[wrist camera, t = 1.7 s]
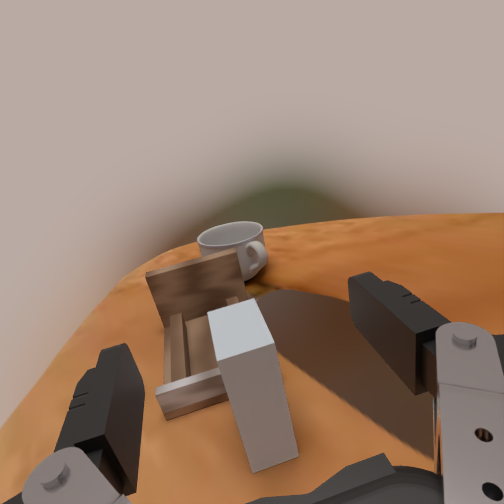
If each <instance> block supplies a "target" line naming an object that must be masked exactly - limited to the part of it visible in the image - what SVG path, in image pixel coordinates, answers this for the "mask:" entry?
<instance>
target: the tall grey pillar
mask: <svg viewBox="0 0 504 504" xmlns="http://www.w3.org/2000/svg"><path fill="white" fill-rule="evenodd" d="M207 314H208V319H209V324H210V329H211V334H212V339H213V344H214V349H215V354H216V359H217V363H218V366H219V370H220V373H221V376H222V379H223V382H224V385H225V388H226V392H227V395H228V398H229V401H230V404H231V407H232V411H233V414H234V417H235V420H236V423H237V426H238V430H239V433H240V436H241V439H242V442H243V445H244V448H245V452H246V455H247V458H248V461H249V464H250V467H251V471H252V474H253V473H256V472H258V471H261V470H264V469H266V468H269V467H272V466H275V465H277V464H280V463H283V462H285V461H288V460H291V459H294V458H296V457H299V453H298V449H297V444H296V439H295V435H294V430H293V426H292V421H291V416H290V412H289V407H288V402H287V398H286V393H285V388H284V384H283V379H282V375H281V370H280V365H279V361H278V356H277V351H276V347H275V342H274V340H273V338H272V336H271V334H270V332H269V330H268V327H267V325H266V323H265V321H264V319H263V317H262V314H261V312H260V310H259V308H258V306H257V303H256V301H255V299H254V298H253V299H250V300H246V301H243V302H240V303H236V304H233V305H230V306H226V307H223V308H220V309H216V310H213V311H210V312H207Z"/></svg>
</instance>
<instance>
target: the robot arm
mask: <svg viewBox="0 0 504 504" xmlns="http://www.w3.org/2000/svg"><path fill="white" fill-rule="evenodd" d="M348 289H349V300H350V311H351V317H352V320H353V322H354V324H355V326H356V328H357V329H358V330H359V332H360V333H361V334H362V335H363V336H364V337H365V339H366V340H367V341H368V342H369V343H370V344H371V346H373V348H374V349H375V350H376V351H377V352H378V353H379V355H380V356H381V357H382V358H383V359H384V360H385V362H386V363H387V364H388V365H389V366H390V367H391V369H392V370H393V371H394V372H395V373H396V374H397V375H398V377H399V378H400V379H401V380H402V381H403V382H404V383H405V384H406V386H407V387H408V388H409V389H410V390H411V391H412V393H413V394H414V395H419V394H421V393H424V392H427V391H429V392H430V393H431V394H432V395H433V421H434V472H431V471H428V470H424V469H420V468H415V467H409V466H392V465H391V463H390V462H389V460H388V459H387V457H386V455H385V454H384V453H381V454H379V455H376V456H373V457H371V458H368V459H365V460H362V461H360V462H357V463H354V464H352V465H349V466H346V467H344V468H343V469H342V470H340V471H339V472H338V473H336V474H335V475H334V476H332V477H331V478H330V479H328V480H327V481H326V482H324V483H323V484H322V485H320V486H319V487H318V488H316V489H315V490H314V491H312V492H310V493H308V494H303V495H290V496H277V497H264V498H260V499H257V500H254V501H252V502H249V503H246V504H504V334H503V335H491V334H490V333H489V332H488V331H486V330H485V329H483V328H481V327H479V326H476V325H473V324H469V323H463V322H450V321H449V320H448V319H446V318H445V317H444V316H442V315H441V314H440V313H438V312H437V311H436V310H434V309H433V308H431V307H430V306H429V305H427V304H426V303H425V302H423V301H421V300H420V299H419V298H418V297H417V296H415V295H412V293H411V292H410V291H409V290H407V289H406V288H404V287H403V286H402V285H399V284H396V283H393V282H391V281H388V280H387V281H384V282H383V281H382V280H380V279H379V278H378V277H377V276H375V275H374V274H373V273H371V272H366V273H362V274H359V275H356V276H352V277H350V278H349V279H348ZM144 400H145V390H144V384H143V380H142V377H141V375H140V372H139V370H138V368H137V365H136V363H135V361H134V359H133V356H132V354H131V352H130V349H129V347H128V346H127V344H126V343H123V344H120V345H116V346H113V347H110V348H106V349H103V350H101V352H100V355H99V358H98V362H97V365H96V368H93V369H89V370H87V372H86V373H85V374H84V376H83V377H82V378H81V379H80V381H79V382H78V383H77V386H76V389H75V392H74V395H73V400H71V403H70V406H69V411H68V412H67V415H66V418H65V421H64V424H63V427H62V430H61V433H60V435H59V438H58V441H57V444H56V447H55V450H54V453H53V454H51V455H50V456H48V457H47V458H45V459H44V460H43V461H42V462H41V463H40V464H38V466H37V467H36V468H35V469H34V470H33V471H32V472H31V474H30V475H29V477H28V478H27V480H26V482H25V484H24V487H23V490H22V492H21V493H19V494H17V495H16V496H14V497H13V498H11V499H9V500H8V501H6V502H4V503H3V504H132V503H131V502H130V501H129V500H128V499H127V497H126V496H127V495H130V494H133V493H136V490H137V479H138V467H139V456H140V445H141V433H142V422H143V411H144Z"/></svg>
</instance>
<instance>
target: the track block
mask: <svg viewBox="0 0 504 504" xmlns="http://www.w3.org/2000/svg"><path fill="white" fill-rule="evenodd" d="M145 278H146V281H147V283H148V286H149V288H150V291H151V294H152V296H153V299H154V301H155V304H156V307H157V309H158V312H159V315H160V317H161V320H162V322H163V325H164V328H165V336H164V385H162V386H159V387H156V394H155V395H156V398H157V400H158V402H159V404H160V407H161V409H162V411H163V413H164V416H165V418H166V420H169V419H172V418H175V417H178V416H181V415H184V414H187V413H190V412H193V411H196V410H199V409H202V408H205V407H208V406H211V405H214V404H217V403H220V402H223V401H226V400H229V398H228V395H227V392H226V388H225V385H224V382H223V379H222V376H221V373H220V370H219V366H218V363H217V359H216V354H215V349H214V344H213V339H212V334H211V329H210V324H209V319H208V314H207V312H210V311H213V310H216V309H220V308H223V307H226V306H230V305H233V304H236V303H240V302H243V301H246V300H248V297H247V293H246V288H245V284H244V280H243V276H242V272H241V268H240V264H239V259H238V255H237V252H236V250H235V248H232V249H228V250H225V251H221V252H218V253H214V254H210V255H207V256H203V257H200V258H196V259H193V260H189V261H185V262H182V263H178V264H175V265H171V266H167V267H164V268H160V269H157V270H153V271H150V272H146V277H145Z"/></svg>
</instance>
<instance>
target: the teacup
mask: <svg viewBox="0 0 504 504" xmlns="http://www.w3.org/2000/svg"><path fill="white" fill-rule="evenodd" d="M197 242H198V244H199V247H200V252H201V255H202V257H203V256H207V255H210V254H214V253H218V252H221V251H225V250H228V249H232V248H235V250H236V252H237V255H238V259H239V264H240V268H241V272H242V276H243V280H244V281H246V280H249V279H251V278H252V277H254V276H255V275H256V274H257V273H258V271H259V270H260V269H261V268H262V267H263V266H265V264H266V263H267V259H268V256H267V252H266V249H265V243H264V236H263V227H262V225H260V224H259V223H256V222H233V223H228V224H224V225H220V226H216V227H213V228H211V229H208V230H206V231H205V232H203V233H202V234H200V235H199V236H198V238H197Z"/></svg>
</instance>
